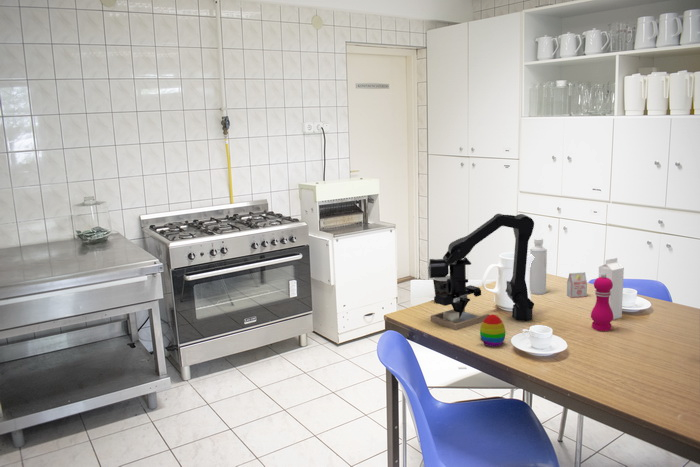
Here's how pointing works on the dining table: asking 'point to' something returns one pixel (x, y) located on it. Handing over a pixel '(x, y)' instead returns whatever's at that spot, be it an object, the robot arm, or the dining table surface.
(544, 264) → the grey bottle
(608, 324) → the pepper mill
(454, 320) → the block
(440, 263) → the robot arm
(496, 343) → the decorative egg
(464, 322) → the brown rectangular tray
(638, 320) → the dining table surface
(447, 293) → the coffee mug
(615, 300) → the milk
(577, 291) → the printed paper bag
